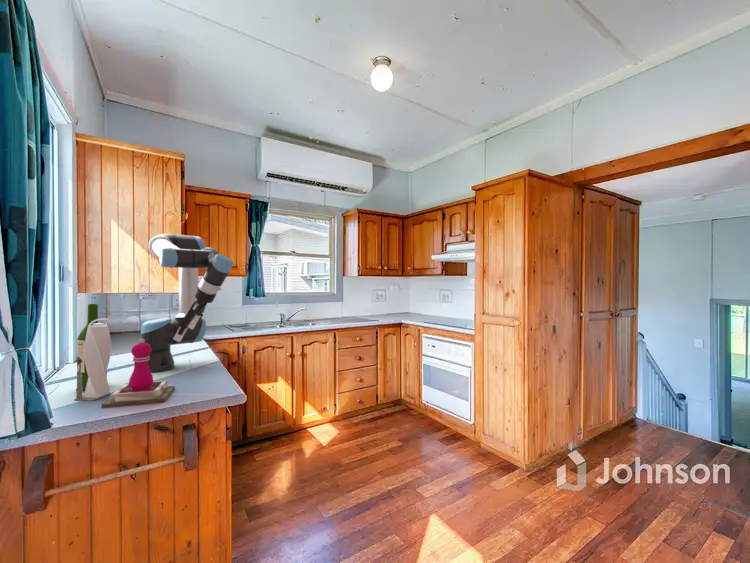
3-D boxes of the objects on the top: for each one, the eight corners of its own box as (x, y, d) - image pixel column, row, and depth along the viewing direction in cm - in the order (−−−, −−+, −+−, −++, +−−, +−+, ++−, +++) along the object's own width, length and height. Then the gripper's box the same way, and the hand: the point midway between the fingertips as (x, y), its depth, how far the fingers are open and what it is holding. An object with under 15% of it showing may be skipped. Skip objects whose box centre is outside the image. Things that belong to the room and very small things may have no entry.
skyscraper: (95, 392, 126) (96, 317, 125) (116, 392, 125) (117, 318, 125) (74, 400, 117) (75, 320, 117) (97, 401, 117) (98, 320, 117)
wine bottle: (71, 389, 128) (71, 304, 128) (97, 383, 136) (98, 303, 136) (86, 392, 125) (87, 305, 125) (112, 385, 133) (112, 303, 133)
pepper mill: (140, 398, 117) (141, 340, 117) (123, 396, 118) (124, 339, 118) (158, 391, 124) (158, 337, 124) (141, 390, 125) (142, 336, 125)
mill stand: (119, 393, 125) (119, 383, 125) (174, 388, 131) (174, 379, 131) (101, 407, 111) (101, 396, 111) (163, 402, 117) (163, 391, 117)
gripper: (206, 303, 125) (180, 350, 127) (224, 287, 149) (202, 327, 151) (186, 294, 123) (160, 341, 125) (208, 279, 147) (186, 319, 149)
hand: (183, 333), depth 138 cm, fingers open, 13 cm apart
